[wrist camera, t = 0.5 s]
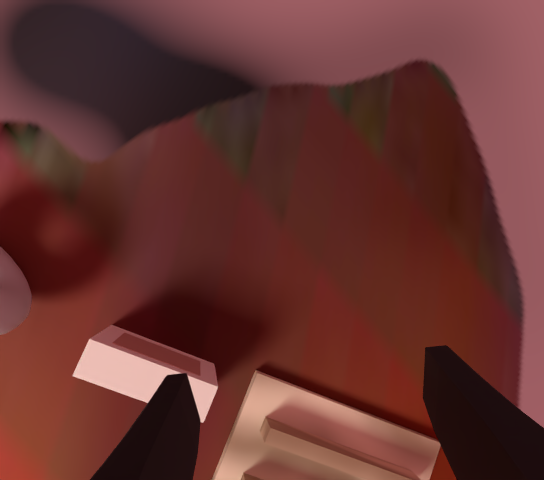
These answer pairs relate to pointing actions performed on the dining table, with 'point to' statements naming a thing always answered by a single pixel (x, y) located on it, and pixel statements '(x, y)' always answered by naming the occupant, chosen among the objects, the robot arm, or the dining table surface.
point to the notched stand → (318, 440)
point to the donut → (12, 294)
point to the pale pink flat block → (143, 367)
